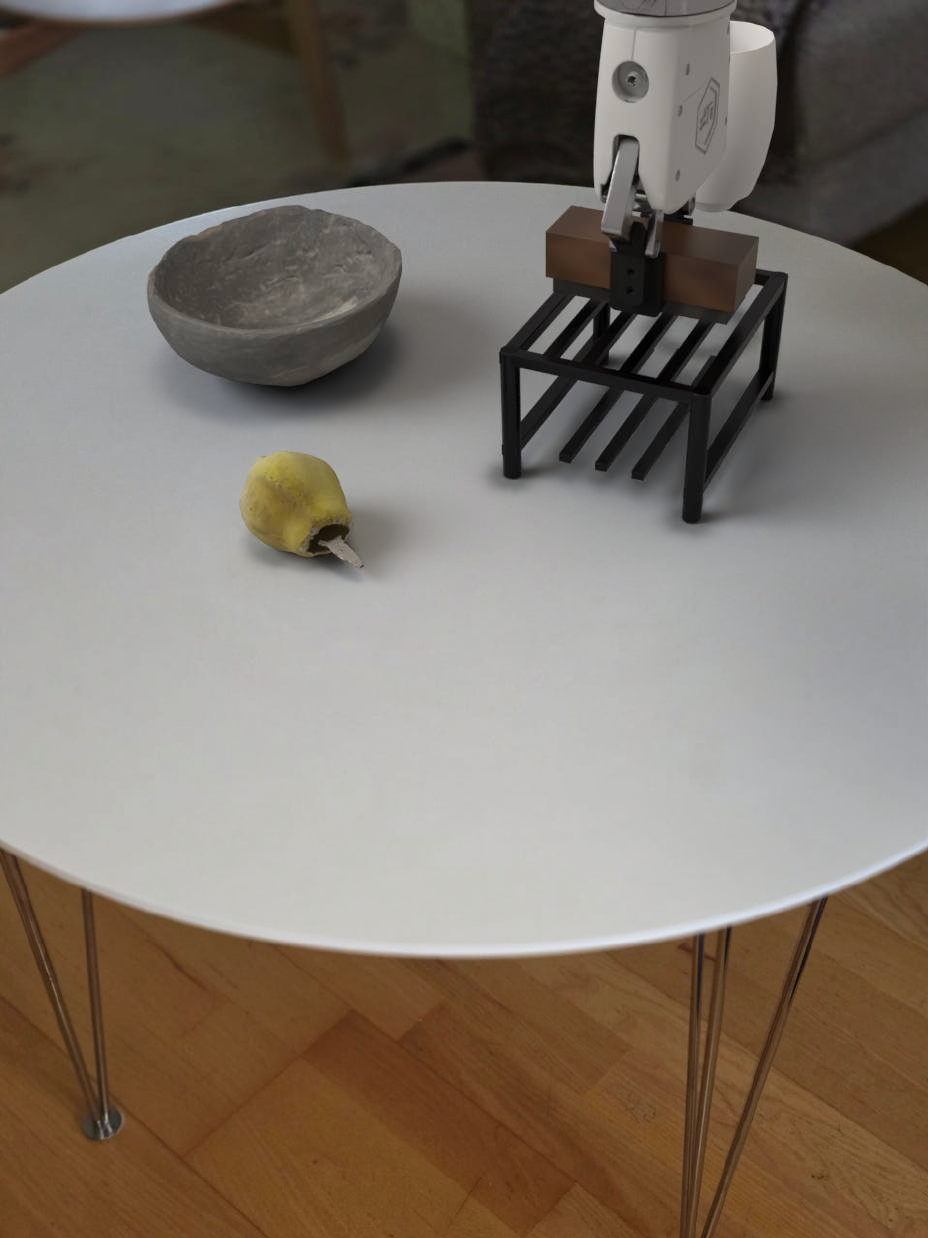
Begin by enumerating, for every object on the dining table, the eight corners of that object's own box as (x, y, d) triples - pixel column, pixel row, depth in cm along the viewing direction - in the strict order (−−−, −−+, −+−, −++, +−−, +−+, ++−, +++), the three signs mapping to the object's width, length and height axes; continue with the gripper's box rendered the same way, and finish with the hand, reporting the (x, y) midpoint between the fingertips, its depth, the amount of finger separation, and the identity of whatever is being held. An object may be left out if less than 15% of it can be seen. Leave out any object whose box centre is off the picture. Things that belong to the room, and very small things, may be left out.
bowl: (201, 454, 91) (180, 347, 85) (137, 337, 103) (115, 238, 98) (449, 387, 96) (443, 282, 91) (359, 283, 108) (349, 185, 103)
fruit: (324, 607, 78) (206, 523, 82) (392, 579, 83) (277, 501, 87) (345, 521, 75) (222, 439, 79) (414, 497, 80) (294, 420, 84)
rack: (775, 394, 93) (790, 272, 87) (697, 525, 83) (708, 397, 77) (595, 356, 98) (598, 239, 92) (499, 476, 87) (496, 352, 81)
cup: (665, 356, 98) (684, 60, 84) (642, 308, 103) (657, 22, 90) (764, 346, 98) (799, 49, 85) (736, 299, 104) (764, 13, 90)
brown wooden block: (752, 298, 83) (759, 236, 80) (732, 328, 80) (738, 265, 78) (570, 264, 87) (571, 204, 85) (545, 291, 85) (545, 231, 82)
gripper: (680, 34, 65) (659, 371, 77) (782, -61, 76) (750, 246, 88) (536, 17, 68) (537, 346, 80) (654, -73, 79) (640, 227, 91)
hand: (649, 290), depth 84 cm, fingers closed on brown wooden block, 4 cm apart
